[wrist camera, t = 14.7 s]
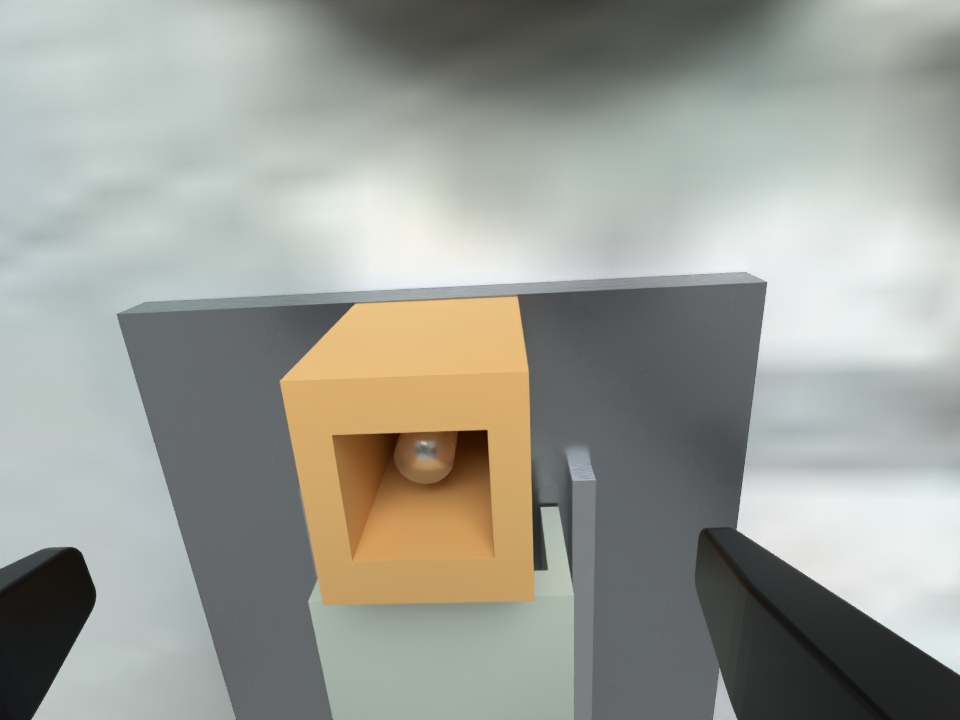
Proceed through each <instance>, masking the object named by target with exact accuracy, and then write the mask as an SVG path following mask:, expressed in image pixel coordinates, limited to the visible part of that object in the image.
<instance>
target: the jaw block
mask: <svg viewBox="0 0 960 720" xmlns="http://www.w3.org/2000/svg"><path fill="white" fill-rule="evenodd" d="M280 385H281V391H282V396H283V401H284V406H285V411H286V416H287V422H288V427H289V432H290V437H291V442H292V447H293V453H294V458H295V463H296V468H297V473H298V478H299V484H300V489H301V494H302V499H303V504H304V509H305V515H306V520H307V525H308V530H309V535H310V540H311V546H312V551H313V556H314V561H315V566H316V571H317V577H318V582H319V587H320V592H321V597H322V602H323V605H362V604H413V603H463V602H514V601H534V564H533V523H532V482H531V441H530V400H529V369H528V363H527V356H526V349H525V343H524V336H523V329H522V322H521V316H520V309H519V302H518V296H517V297H495V298H473V299H451V300H429V301H407V302H385V303H363V304H355V305H354V306H353V307H352V308H351V309H350V310H349V311H348V312H347V313H346V314H345V315H344V316H343V317H342V318H341V319H340V320H339V321H338V322H337V323H336V324H335V325H334V326H333V327H332V328H331V329H330V330H329V331H328V332H327V333H326V334H325V335H324V336H323V337H322V338H321V339H320V340H319V341H318V342H317V343H316V345H315V346H314V347H313V348H312V349H311V350H310V351H309V352H308V353H307V354H306V355H305V356H304V357H303V358H302V359H301V360H300V361H299V362H298V363H297V364H296V365H295V366H294V367H293V368H292V369H291V370H290V371H289V372H288V373H287V374H286V375H285V376H284V377H283V378H282V379H281V380H280ZM466 430H474V431H466ZM436 431H458V435H457V442H456V449H455V456H454V463H453V467H452V469H451V471H450V472H449V473H448V475H447V476H446V477H444V478H443V479H441V480H439V481H437V482H434V483H429V484H422V483H417V482H414V481H411V480H409V479H407V478H406V477H405V476H403V475H402V474H401V473H400V471H399V470H398V468H397V467H396V464H395V461H394V451H395V448H396V445H397V442H398V439H399V436H400V433H407V432H436Z"/></svg>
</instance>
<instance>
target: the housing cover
mask: <svg viewBox="0 0 960 720" xmlns="http://www.w3.org/2000/svg"><path fill="white" fill-rule="evenodd" d="M540 512H541V555H542V571H534V601H514V602H463V603H413V604H362V605H323V602H322V597H321V592H320V587H319V582H318V580H317V582H316V584H315V587H314V589H313V591H312V594H311V596H310V598H309V601H308V603H309V608H310V613H311V618H312V622H313V627H314V632H315V637H316V641H317V646H318V651H319V656H320V660H321V665H322V670H323V675H324V679H325V684H326V689H327V694H328V699H329V703H330V708H331V713H332V718H333V720H574V592H573V587H572V581H571V575H570V570H569V564H568V558H567V553H566V547H565V541H564V536H563V530H562V524H561V518H560V513H559V507H540Z"/></svg>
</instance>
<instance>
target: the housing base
mask: <svg viewBox="0 0 960 720" xmlns="http://www.w3.org/2000/svg"><path fill="white" fill-rule="evenodd" d="M766 287H767V282H766V281H764V280H762V279H759V278H757V277H755V276H753V275H751V274H748V273H746V272H740V273H720V274H700V275H680V276H660V277H641V278H621V279H601V280H581V281H561V282H541V283H521V284H501V285H481V286H461V287H442V288H422V289H402V290H382V291H362V292H342V293H322V294H302V295H282V296H262V297H243V298H223V299H203V300H183V301H163V302H145V303H143V304H140V305H138V306H135V307H133V308H131V309H128V310H126V311H123V312H121V313H118V314H117V317H118V320H119V324H120V327H121V330H122V334H123V337H124V341H125V344H126V347H127V351H128V354H129V357H130V361H131V364H132V368H133V371H134V374H135V378H136V381H137V385H138V388H139V391H140V395H141V398H142V402H143V405H144V408H145V412H146V415H147V418H148V422H149V425H150V429H151V432H152V435H153V439H154V442H155V446H156V449H157V452H158V456H159V459H160V463H161V466H162V469H163V473H164V476H165V480H166V483H167V486H168V490H169V493H170V496H171V500H172V503H173V507H174V510H175V513H176V517H177V520H178V524H179V527H180V530H181V534H182V537H183V541H184V544H185V547H186V551H187V554H188V557H189V561H190V564H191V568H192V571H193V574H194V578H195V581H196V585H197V588H198V591H199V595H200V598H201V602H202V605H203V608H204V612H205V615H206V619H207V622H208V625H209V629H210V632H211V635H212V639H213V642H214V646H215V649H216V652H217V656H218V659H219V663H220V666H221V669H222V673H223V676H224V680H225V683H226V686H227V690H228V693H229V696H230V700H231V703H232V707H233V710H234V713H235V717H236V720H333V718H332V713H331V708H330V703H329V699H328V694H327V689H326V684H325V679H324V675H323V670H322V665H321V660H320V656H319V651H318V646H317V641H316V637H315V632H314V627H313V622H312V618H311V613H310V608H309V603H308V601H309V598H310V596H311V594H312V591H313V589H314V587H315V584H316V582H317V580H318V577H317V571H316V566H315V561H314V556H313V551H312V546H311V540H310V535H309V530H308V525H307V520H306V515H305V509H304V504H303V499H302V494H301V489H300V484H299V478H298V473H297V468H296V463H295V458H294V453H293V447H292V442H291V437H290V432H289V427H288V422H287V416H286V411H285V406H284V401H283V396H282V391H281V385H280V380H281V379H282V378H283V377H284V376H285V375H286V374H287V373H288V372H289V371H290V370H291V369H292V368H293V367H294V366H295V365H296V364H297V363H298V362H299V361H300V360H301V359H302V358H303V357H304V356H305V355H306V354H307V353H308V352H309V351H310V350H311V349H312V348H313V347H314V346H315V345H316V343H317V342H318V341H319V340H320V339H321V338H322V337H323V336H324V335H325V334H326V333H327V332H328V331H329V330H330V329H331V328H332V327H333V326H334V325H335V324H336V323H337V322H338V321H339V320H340V319H341V318H342V317H343V316H344V315H345V314H346V313H347V312H348V311H349V310H350V309H351V308H352V307H353V306H354V305H355V304H363V303H385V302H407V301H429V300H451V299H473V298H495V297H517V296H518V302H519V309H520V316H521V322H522V329H523V336H524V343H525V349H526V356H527V363H528V369H529V400H530V441H531V482H532V523H533V564H534V571H542V555H541V512H540V507H559V513H560V518H561V524H562V530H563V536H564V541H565V547H566V553H567V558H568V564H569V570H570V575H571V581H572V587H573V592H574V720H713V713H714V705H715V697H716V689H717V681H718V673H719V663H718V660H717V657H716V654H715V650H714V647H713V644H712V641H711V637H710V634H709V631H708V627H707V624H706V621H705V618H704V614H703V611H702V608H701V605H700V601H699V598H698V595H697V591H696V586H695V567H696V556H697V546H698V537H699V534H700V531H701V530H702V529H704V528H713V527H730V528H733V529H735V530H736V528H737V520H738V512H739V504H740V496H741V488H742V480H743V472H744V464H745V456H746V448H747V440H748V432H749V424H750V416H751V408H752V400H753V392H754V384H755V376H756V368H757V360H758V352H759V344H760V335H761V327H762V319H763V311H764V303H765V295H766ZM466 431H474V430H466ZM457 435H458V431H436V432H407V433H400V436H399V439H398V442H397V445H396V448H395V451H394V461H395V464H396V467H397V468H398V470H399V471H400V473H401V474H402V475H403V476H405V477H406V478H407V479H409V480H411V481H414V482H417V483H422V484H429V483H434V482H437V481H439V480H441V479H443V478H444V477H446V476H447V475H448V473H449V472H450V471H451V469H452V467H453V463H454V456H455V449H456V442H457Z"/></svg>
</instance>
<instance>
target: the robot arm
mask: <svg viewBox="0 0 960 720" xmlns="http://www.w3.org/2000/svg"><path fill="white" fill-rule="evenodd" d="M695 586H696V591H697V595H698V598H699V601H700V605H701V608H702V611H703V614H704V618H705V621H706V624H707V627H708V631H709V634H710V637H711V641H712V644H713V647H714V650H715V654H716V657H717V660H718V663H719V667H720V670H721V673H722V676H723V680H724V683H725V686H726V689H727V692H728V695H729V698H730V701H731V704H732V707H733V709H734V712H735V714H736V717H737V719H738V720H960V675H959V674H957V673H956V672H954V671H953V670H951V669H949V668H948V667H946V666H945V665H943V664H942V663H940V662H939V661H937V660H936V659H934V658H933V657H931V656H929V655H928V654H926V653H925V652H923V651H922V650H920V649H919V648H917V647H916V646H914V645H912V644H911V643H909V642H908V641H906V640H905V639H903V638H902V637H900V636H899V635H897V634H896V633H894V632H892V631H891V630H889V629H888V628H886V627H885V626H883V625H882V624H880V623H879V622H877V621H876V620H874V619H872V618H871V617H869V616H868V615H866V614H865V613H863V612H862V611H860V610H859V609H857V608H856V607H854V606H852V605H851V604H849V603H848V602H846V601H845V600H843V599H842V598H840V597H839V596H837V595H835V594H834V593H832V592H831V591H829V590H828V589H826V588H825V587H823V586H822V585H820V584H819V583H817V582H815V581H814V580H812V579H811V578H809V577H808V576H806V575H805V574H803V573H802V572H800V571H799V570H797V569H795V568H794V567H792V566H791V565H789V564H788V563H786V562H785V561H783V560H782V559H780V558H778V557H777V556H775V555H774V554H772V553H771V552H769V551H768V550H766V549H765V548H763V547H762V546H760V545H758V544H757V543H755V542H754V541H752V540H751V539H749V538H748V537H746V536H745V535H743V534H742V533H740V532H738V531H737V530H735V529H733V528H730V527H713V528H704V529H702V530H701V531H700V534H699V537H698V546H697V556H696V567H695ZM95 601H96V590H95V586H94V584H93V581H92V578H91V576H90V573H89V571H88V568H87V565H86V563H85V560H84V557H83V555H82V553H81V552H80V551H79V550H78V549H77V548H73V547H52V548H45V549H42V550H40V551H38V552H35V553H33V554H31V555H29V556H27V557H25V558H23V559H21V560H18V561H16V562H14V563H12V564H10V565H8V566H6V567H4V568H1V569H0V720H31V719H32V718H33V716H34V714H35V713H36V711H37V709H38V707H39V706H40V704H41V702H42V701H43V699H44V697H45V695H46V693H47V692H48V690H49V688H50V686H51V684H52V683H53V681H54V679H55V677H56V675H57V673H58V672H59V670H60V668H61V666H62V664H63V663H64V661H65V659H66V657H67V655H68V653H69V652H70V650H71V648H72V646H73V644H74V643H75V641H76V639H77V637H78V635H79V633H80V632H81V630H82V628H83V626H84V624H85V623H86V621H87V619H88V617H89V615H90V613H91V612H92V610H93V608H94V605H95Z"/></svg>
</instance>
